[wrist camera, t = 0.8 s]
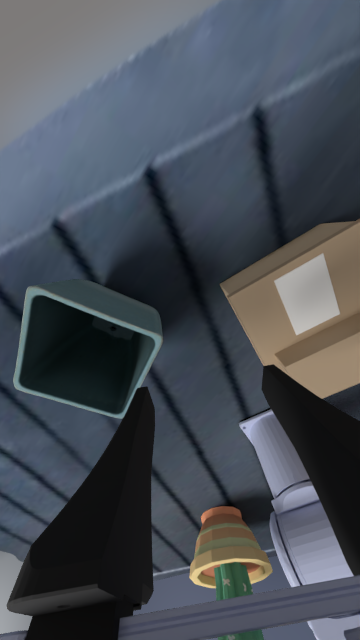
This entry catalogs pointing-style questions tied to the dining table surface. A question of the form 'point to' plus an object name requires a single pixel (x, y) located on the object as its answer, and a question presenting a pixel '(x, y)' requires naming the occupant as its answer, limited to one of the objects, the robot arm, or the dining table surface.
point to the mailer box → (280, 257)
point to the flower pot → (85, 345)
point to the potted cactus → (228, 559)
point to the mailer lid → (309, 314)
